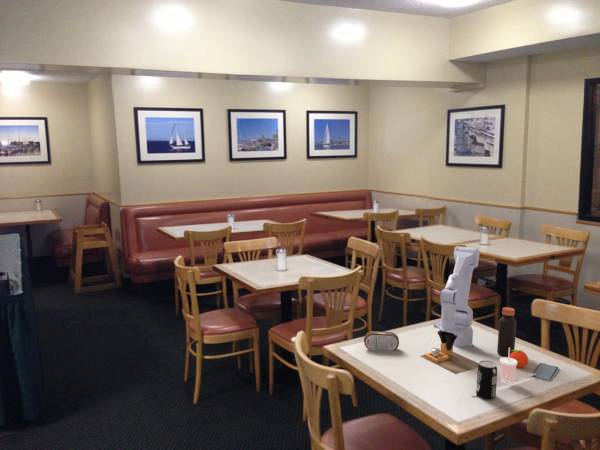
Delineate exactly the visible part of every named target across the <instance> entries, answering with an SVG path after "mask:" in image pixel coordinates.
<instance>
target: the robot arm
mask: <svg viewBox="0 0 600 450" xmlns="http://www.w3.org/2000/svg"><path fill="white" fill-rule="evenodd" d="M453 258H454V262H455V264H454V268H453V273H452V274H450V275H449V276H448V279H447V281H446V284H445V287H444V288H443V289H442V290H441V291H440V294H439V295H440V297H439V299H440V306H441V318H440V321H441V322H438V321H436V322H433V328H434V329H436V328H437V329H439V330H438V331H437V335H438V337H439V339H440V344H442V343H446V342H447V350H451V349H452V346H453V347H458V348H463V347H464V348H465V347H467V346H469V347H474V346H475V344H473V341H474V340H473V339H474V338H473V337H474V330H473V328H472V324H473V319H474V315H473V314H474V311H473V309H472V308H471V307H470V306H469V305H468V302H469V296H470V291H471V283H472V278H473V272H474V269H476V268H478V266H479V261H480V250H479V248H477V247H476V248H475V247H468V246H467V247H466V246H460V245H457V246H456V247H455V248H454V250H453Z"/></svg>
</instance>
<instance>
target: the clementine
mask: <svg viewBox="0 0 600 450" xmlns="http://www.w3.org/2000/svg"><path fill="white" fill-rule="evenodd" d="M511 351H513V352H512V353H511V354H510V357H509V358H513V359H515V360H517V365H516V368H519V369H523V368H525V367H526V366H527V365H528V362H529V358H528V355H527V353H525V352H524V351H522V350H520V349H515V350H511Z"/></svg>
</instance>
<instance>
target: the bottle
mask: <svg viewBox="0 0 600 450" xmlns="http://www.w3.org/2000/svg"><path fill="white" fill-rule="evenodd" d="M501 310H502V311H501V313H502V314H501V315H502V316H501V317H500V318H499V320H498V335H497V347H496V348H497V350H496V353H497V355H499V356H501V357H508V352H509V347H510V354H511V353H512V352H513V351H511V350H516V348H515V347H516V334H517V320H516V319H515V318H514V317H515V312H516V310H515V308H513V307H509V306H508V307H506V306H505V307H502V309H501Z"/></svg>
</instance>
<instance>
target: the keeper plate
mask: <svg viewBox="0 0 600 450" xmlns="http://www.w3.org/2000/svg"><path fill="white" fill-rule="evenodd" d="M440 352H441V350H440ZM419 357H420V358H422V359H425V360H427V362H430V363H432V364H434V365H436V366H439V367H440V368H443V369H444V370H447V371H448V372H450V373H453V374H454V375H458V374H461V373H465V372H468V371H471V370H475V369H478V365H479V362H477V361H475V360H473V359H470V358H469V357H466V356H464V355H462V354H460V353H457V352H455V351H453V354H452V355H449V359H447V360H444V361H440V362H437V363H436V362H434V361H432V360H430V359H428V358H426V357H424V354H423V355H419ZM440 357H441V356H439V355H438V358H440Z"/></svg>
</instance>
